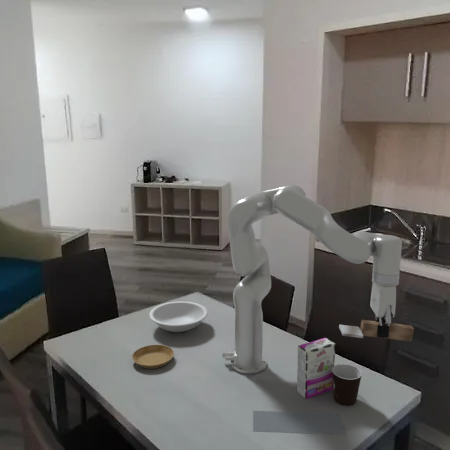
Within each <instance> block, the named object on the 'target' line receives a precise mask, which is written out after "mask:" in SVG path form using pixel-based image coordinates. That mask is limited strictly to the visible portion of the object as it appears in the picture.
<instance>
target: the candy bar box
mask: <svg viewBox="0 0 450 450" xmlns="http://www.w3.org/2000/svg"><path fill="white" fill-rule="evenodd" d="M335 353H336V343H335V342H333V341H332V340H330V339H329V338H327V337H323V338H319V339H317V340H312V341H310V342H306V343H302V344H299V345H297V371H296V372H297V374H296V375H297V380H296V381H297V382H296V392H297V393H298V394H299V395H300V396H302V397H303V398H304V399H305V400H307V399H309V398H310V399H311V398H313V397H315V396H319V395H321V394H324V393H327V392H331V391H334V389H333V375H332V368H333V367H334V366H335V360H336V359H335V357H336V354H335Z"/></svg>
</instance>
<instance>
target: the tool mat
mask: <svg viewBox="0 0 450 450" xmlns="http://www.w3.org/2000/svg"><path fill="white" fill-rule="evenodd" d="M252 432H261V433H289V434H314V435H316V434H317V435H320V434H321V435H341V436H342V435H343V436H344V435H347V434H346V432H345V429H344V425H343V422H342V419H341V415H340V413H334V412H333V413H331V412H330V413H329V412H327V413H326V412H304V411H302V412H300V411H299V412H297V411H274V410H273V411H272V410H271V411H270V410H252Z"/></svg>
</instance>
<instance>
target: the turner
mask: <svg viewBox="0 0 450 450" xmlns="http://www.w3.org/2000/svg"><path fill="white" fill-rule="evenodd" d="M378 324H379V322H377V321H375V320H368V319H361V322H360V327H359V326H356V325H345V324H338V325H339V326H338V329H339V330H340V333H341V336H344V337H351V338H358V339H364V337H371V338H372V337H373V338H380V339H383V338H382V337H378V336H377V331H378ZM414 332H415V327H413V326H412V325H411V324H403V323H394V322H391V324H390V326H389V336H388V338H387V340H397V341H406V342H412V341H413V336H414Z"/></svg>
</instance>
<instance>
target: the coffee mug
mask: <svg viewBox="0 0 450 450" xmlns="http://www.w3.org/2000/svg"><path fill="white" fill-rule="evenodd" d="M332 375H333V400H334V401H335V402H336V403H337V404H338V405H340V406H343V407H353V406H354V405H355V404H356V403H357V399H358V394H359V390H360V384H361V381H362V380H361V379H362V375H363V373H362V370H361V369H360V368H358V367H357V366H355V365H352V364H348V363H339V364H336V365H335V364H334V367H333V368H332Z"/></svg>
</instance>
